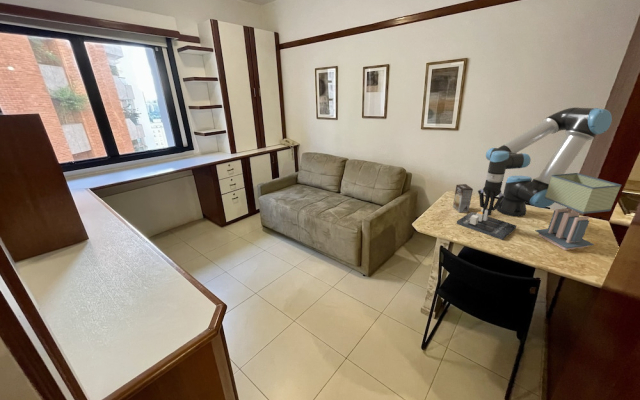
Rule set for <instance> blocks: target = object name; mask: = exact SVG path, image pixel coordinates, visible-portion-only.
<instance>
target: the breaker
mask: <svg viewBox="0 0 640 400" xmlns="http://www.w3.org/2000/svg"><path fill="white" fill-rule="evenodd" d="M478 219H479V216H476V215H472V216H471V218H470V224H473V225H476V224H478Z"/></svg>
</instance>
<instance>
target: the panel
mask: <svg viewBox="0 0 640 400" xmlns="http://www.w3.org/2000/svg"><path fill="white" fill-rule="evenodd" d="M477 213H478V212H472V211H471V212H468V214H466V215H464V216H463V217H461V218H460V219H457V220H456V225H459V226H461V227H464V228H467V229H471V230H474V231H476V232H478V233H481V234H484V235H487V236H490V237H493V238H495V239H498V240H502V241H504V240H505V239H506V238H507V237H508V236H509V235H511V233H513V232H514V231H515V230H516V229H517V225H516V224H514V223H510V222H506V221H504V220H501V219H498V218H494V217H490V216H488V220H486V221H484V220H483V221H481V222H480V221H478V224H476V225H473V224H470V218H471V216H472V215H477Z"/></svg>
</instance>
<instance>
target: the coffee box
mask: <svg viewBox="0 0 640 400" xmlns="http://www.w3.org/2000/svg"><path fill="white" fill-rule="evenodd" d="M473 191H474V190H473V187H471V186H469V185H468V184H466V183H464V184H463V183H462V184H461V183H460V184H456V186H455V193H454V198H453V203H452V208H454V209H455V210H456V211H457V212H458V213H469V211H470V205H471V201H472V195H473Z"/></svg>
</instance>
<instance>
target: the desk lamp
mask: <svg viewBox="0 0 640 400" xmlns="http://www.w3.org/2000/svg"><path fill="white" fill-rule="evenodd" d="M621 187H622V184H619V183H616V182H611V181H608V180H605V179H601V178H597V177H594V176H590V175H586V174H582V173H578V172H572V173H564V174H559V175H552V177H551V180H550V183H549V186H548V189H547V193H546V196H545V199H547V200H550V201H552V202H554V204H555V203H556V204H558V205H560V206H563V207H565V208H557V209H555V210H553V212H552V216H551V219H550V222H549V225H548V227H547V228H543V229H535V230H534V231H535V232H536V233H538V236H539V237H541V238H542V239H544V240H546V241H548V242H550V243H552V244H553V245H555V246H557V247H558V248H560V249H562V250H564V251H568V249H571V250H576V249H575V248H579V249H584V248H583V247H587V248H588V247H589V246H590V247H591V246H594V245H595V243H592V242H591V241H588V240H587V239H585V238H584V235H585V233H586V230H587V228H588V226H589V223H590V220H589V219H590V216H588V215H586V214H593V213H602V212H604V213H605V212H611V211H612V207H613V206H614V202H615V201H616V198H617V196H618V193H619V191H620V189H621ZM569 210H570V211H569ZM580 214H583V215H584V214H585V215H586V216H585V215H584V216H580Z"/></svg>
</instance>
